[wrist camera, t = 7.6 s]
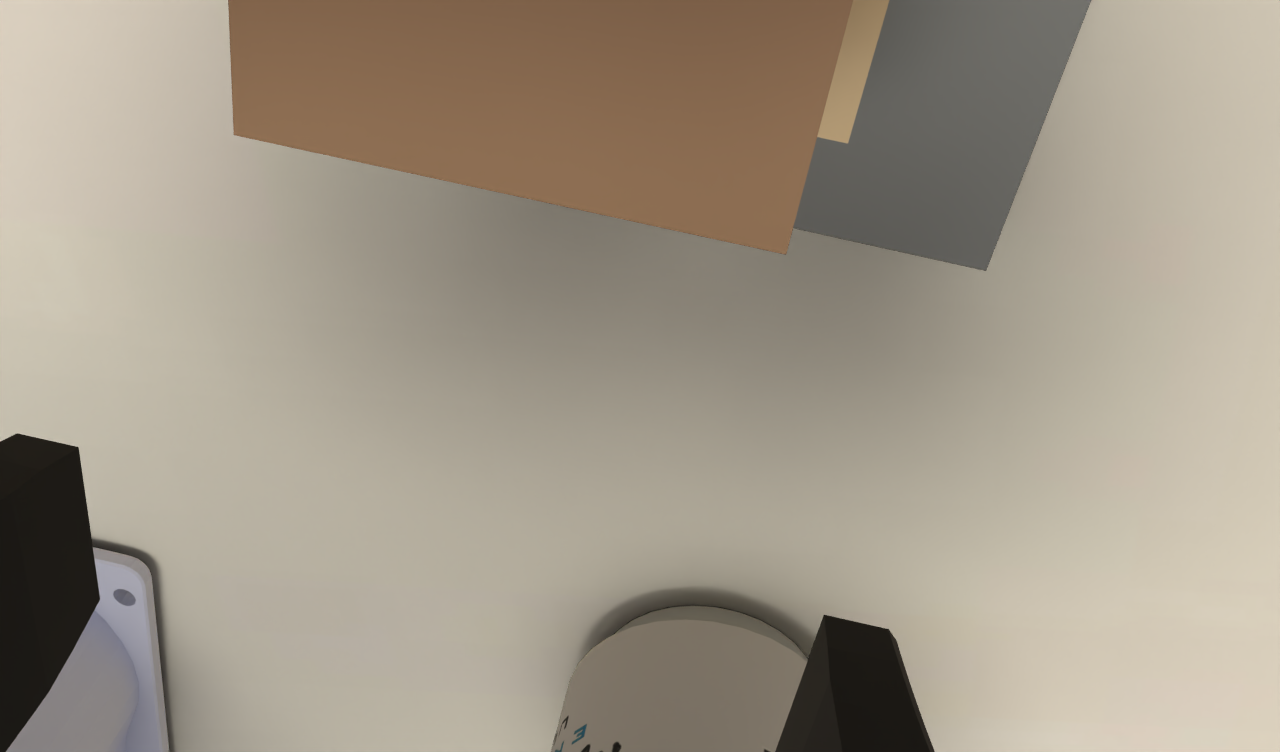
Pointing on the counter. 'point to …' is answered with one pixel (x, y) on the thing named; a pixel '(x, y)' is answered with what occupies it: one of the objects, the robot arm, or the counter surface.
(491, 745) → the counter surface
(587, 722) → the energy drink can
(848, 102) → the oak block
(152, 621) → the robot arm
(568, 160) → the walnut block
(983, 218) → the slate base
